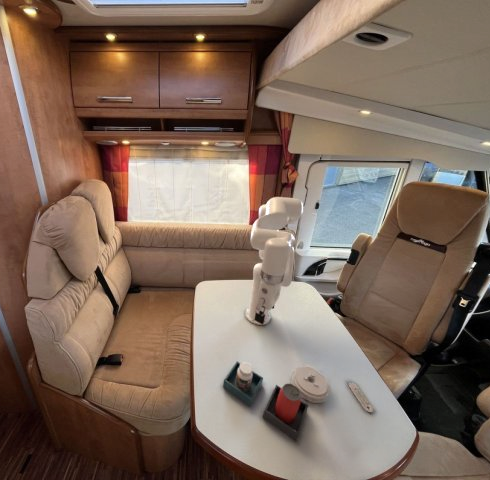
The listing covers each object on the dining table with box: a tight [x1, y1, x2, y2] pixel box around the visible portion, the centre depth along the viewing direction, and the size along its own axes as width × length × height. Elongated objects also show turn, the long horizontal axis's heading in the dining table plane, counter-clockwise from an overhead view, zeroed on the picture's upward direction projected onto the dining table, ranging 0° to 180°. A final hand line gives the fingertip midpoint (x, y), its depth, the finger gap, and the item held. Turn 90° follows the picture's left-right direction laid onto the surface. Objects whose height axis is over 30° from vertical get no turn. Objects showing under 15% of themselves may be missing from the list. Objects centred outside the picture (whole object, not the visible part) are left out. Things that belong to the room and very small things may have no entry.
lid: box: [290, 365, 331, 404], centre depth 88 cm, size 13×13×5 cm
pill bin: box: [222, 361, 264, 407], centre depth 89 cm, size 10×11×4 cm
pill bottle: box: [235, 361, 253, 392], centre depth 87 cm, size 6×6×10 cm
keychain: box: [348, 382, 374, 413], centre depth 86 cm, size 10×1×3 cm
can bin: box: [262, 384, 309, 443], centre depth 80 cm, size 11×11×4 cm
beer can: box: [275, 383, 302, 423], centre depth 78 cm, size 7×7×12 cm
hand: (264, 314), depth 85 cm, fingers open, 9 cm apart
